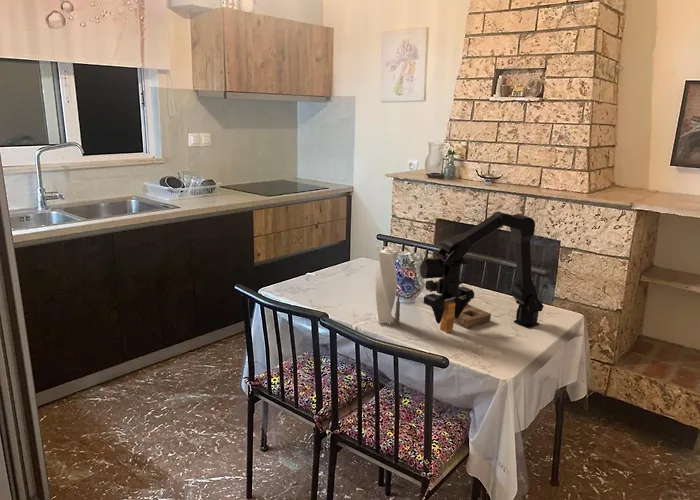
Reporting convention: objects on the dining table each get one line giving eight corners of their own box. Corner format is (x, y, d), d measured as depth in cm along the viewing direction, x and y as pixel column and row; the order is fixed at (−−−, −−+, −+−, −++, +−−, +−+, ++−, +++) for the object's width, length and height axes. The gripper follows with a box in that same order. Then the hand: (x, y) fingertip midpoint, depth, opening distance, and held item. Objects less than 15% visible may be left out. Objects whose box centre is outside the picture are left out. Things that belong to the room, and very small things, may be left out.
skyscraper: (377, 327, 179) (381, 248, 171) (369, 318, 186) (373, 242, 179) (400, 325, 181) (405, 247, 173) (392, 316, 188) (396, 241, 181)
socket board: (491, 321, 187) (493, 303, 185) (466, 329, 179) (468, 310, 177) (456, 306, 199) (458, 289, 198) (432, 313, 192) (433, 295, 190)
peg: (452, 330, 177) (455, 303, 175) (446, 332, 176) (449, 305, 173) (446, 327, 180) (448, 300, 177) (440, 329, 178) (442, 302, 175)
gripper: (453, 266, 184) (449, 307, 188) (413, 274, 174) (410, 318, 178) (477, 274, 176) (472, 318, 180) (437, 284, 165) (433, 329, 169)
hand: (447, 320), depth 177 cm, fingers open, 8 cm apart
